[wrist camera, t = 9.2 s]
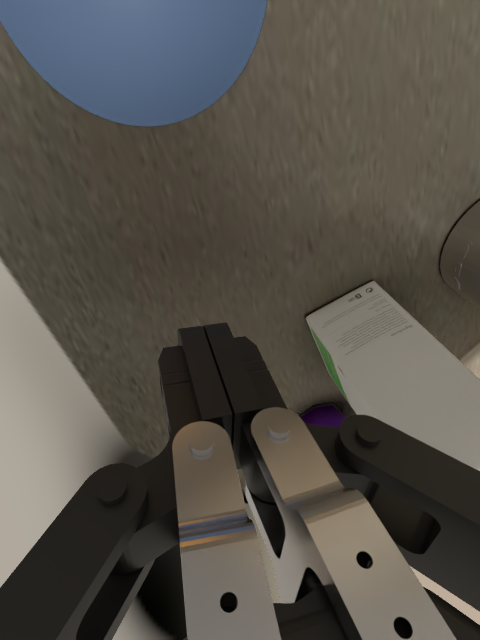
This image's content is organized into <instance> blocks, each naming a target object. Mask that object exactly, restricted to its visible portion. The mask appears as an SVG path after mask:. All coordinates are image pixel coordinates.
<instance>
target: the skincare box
mask: <svg viewBox="0 0 480 640" xmlns="http://www.w3.org/2000/svg"><path fill="white" fill-rule="evenodd" d="M306 321H307V323H308V325H309V328H310V330H311V333H312V335H313V338H314V340H315V342H316V345H317V347H318V349H319V352H320V354H321V356H322V358H323V361H324V363H325V366H326V368H327V371H328V373H329V374H330V376H331V378H332V379H333V381H334V382H335V384H336V385H337V386H338V388H339V389H340V391H341V392H342V394H343V395H344V397H345V398H346V400H347V401H348V403H349V404H350V406H351V407H352V409H353V410H354V411H355V413H356V414H357V415H368V416H371V417H374V418H376V419H378V420H380V421H382V422H384V423H386V424H388V425H390V426H392V427H394V428H396V429H398V430H400V431H402V432H404V433H406V434H408V435H410V436H412V437H414V438H416V439H418V440H420V441H422V442H424V443H426V444H427V445H429V446H431V447H433V448H435V449H437V450H439V451H441V452H443V453H445V454H447V455H449V456H451V457H453V458H455V459H457V460H459V461H461V462H463V463H465V464H467V465H469V466H471V467H473V468H474V469H476V470H478V471H480V379H479V378H478V377H476V376H475V375H474V374H473V373H472V372H471V371H470V370H469V369H468V368H467V367H466V366H465V365H464V364H462V363H461V362H460V361H459V360H458V359H457V358H456V357H455V356H454V355H453V354H452V353H451V352H450V351H448V350H447V349H446V348H445V347H444V346H443V345H442V344H441V343H440V342H439V341H438V340H437V339H436V338H435V337H434V336H432V335H431V334H430V333H429V332H428V331H427V330H426V329H425V328H424V327H423V326H422V325H421V324H420V323H419V322H417V321H416V320H415V319H414V318H413V317H412V316H411V315H410V314H409V313H408V312H407V311H406V310H405V309H404V308H402V307H401V306H400V305H399V304H398V303H397V302H396V301H395V300H394V299H393V298H392V297H391V296H390V295H389V294H388V293H387V292H385V291H384V290H383V289H382V288H381V287H380V286H379V285H378V284H377V283H376V282H375V281H371V282H369V283H367V284H365V285H363V286H362V287H360V288H358V289H356V290H354V291H352V292H350V293H348V294H346V295H345V296H343V297H341V298H339V299H337V300H335V301H334V302H332V303H330V304H328V305H326V306H324V307H323V308H321V309H319V310H317V311H315V312H313V313H312V314H310V315H308V316H307V317H306Z"/></svg>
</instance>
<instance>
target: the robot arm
mask: <svg viewBox="0 0 480 640" xmlns="http://www.w3.org/2000/svg"><path fill="white" fill-rule="evenodd" d="M440 270H441V276H442V278H443V280H444V282H445V283H446V284H447V285H448V286H449V287H451V288H452V289H453V290H455V291H456V292H457V293H459V294H460V295H461V296H462V297H464V298H465V299H466V300H468V301H469V302H470V303H472V304H473V305H474V306H476V307H477V308H478V309H479V310H480V201H479V202H477V203H476V204H475V205H474V206H473V207H472V208H471V209H470V210H468V211H467V212H466V214H465V215H464V216H463V217H462V218H461V219H460V220H459V222H458V223H457V224H456V226H455V227H454V229H453V230H452V232H451V233H450V235H449V237H448V239H447V241H446V243H445V245H444V249H443V252H442V255H441V262H440ZM158 364H159V374H160V384H161V394H162V401H163V407H164V413H165V419H166V424H167V430H168V436H169V441H168V443H167V446H166V447H165V448H164V450H163V451H162V452H161V453H160V454H159V455H158V456H157V457H155V458H154V459H152V460H151V461H149V462H147V463H145V464H143V465H141V466H139V467H138V468H135V467H134V466H131V465H128V464H123V463H120V464H111V465H108V466H105V467H103V468H100V469H99V470H97V471H96V472H94V473H93V474H92V475H91V476H90V477H89V478H88V479H87V480H86V481H85V482H84V484H83V485H82V486H81V487H80V489H79V490H78V491H77V492H76V494H75V495H74V496H73V497H72V499H71V500H70V501H69V502H68V504H67V505H66V506H65V507H64V509H63V510H62V511H61V513H60V514H59V515H58V516H57V517H56V519H55V520H54V521H53V522H52V524H51V525H50V526H49V527H48V529H47V530H46V531H45V533H44V534H43V535H42V536H41V538H40V539H39V540H38V541H37V543H36V544H35V545H34V546H33V548H32V549H31V550H30V551H29V553H28V554H27V555H26V556H25V558H24V559H23V560H22V561H21V563H20V564H19V565H18V567H17V568H16V569H15V570H14V572H13V573H12V574H11V575H10V576H9V578H8V579H7V581H6V582H5V583H4V584H3V585H2V587H1V588H0V640H112V638H113V636H114V635H115V633H116V631H117V629H118V627H119V625H120V623H121V622H122V620H123V618H124V616H125V614H126V612H127V611H128V609H129V607H130V605H131V603H132V602H133V600H134V598H135V596H136V594H137V592H138V590H139V589H140V587H141V585H142V583H143V581H144V579H145V577H146V576H147V574H148V572H149V570H150V568H151V566H152V564H153V562H154V560H155V558H157V557H158V556H160V555H161V554H163V553H164V552H165V551H167V550H169V549H170V548H172V547H173V546H175V545H176V544H178V543H179V542H180V551H181V562H182V575H183V588H184V600H185V612H186V625H187V637H186V638H185V639H184V640H480V625H479V624H477V623H476V622H474V621H473V620H471V619H470V618H469V617H467V616H466V615H464V614H463V613H462V612H460V611H459V610H457V609H456V608H455V607H453V606H452V605H450V604H449V603H448V602H446V601H445V600H443V599H442V598H440V597H439V596H438V595H436V594H435V593H433V592H432V591H430V590H428V589H426V588H425V587H423V586H422V585H421V583H420V582H419V580H418V579H417V577H416V576H415V574H414V572H413V571H412V569H411V568H410V566H411V567H413V568H414V569H416V570H417V571H419V572H420V573H422V574H423V575H425V576H426V577H428V578H430V579H431V580H433V581H434V582H436V583H437V584H439V585H440V586H442V587H443V588H445V589H446V590H448V591H449V592H451V593H452V594H454V595H455V596H457V597H458V598H460V599H462V600H463V601H465V602H466V603H468V604H469V605H471V606H472V607H474V608H475V609H477V610H478V611H480V471H478V470H476V469H474V468H473V467H471V466H469V465H467V464H465V463H463V462H461V461H459V460H457V459H455V458H453V457H451V456H449V455H447V454H445V453H443V452H441V451H439V450H437V449H435V448H433V447H431V446H429V445H427V444H426V443H424V442H422V441H420V440H418V439H416V438H414V437H412V436H410V435H408V434H406V433H404V432H402V431H400V430H398V429H396V428H394V427H392V426H390V425H388V424H386V423H384V422H382V421H380V420H378V419H376V418H374V417H371V416H368V415H353V416H350V417H347V418H346V419H345V420H344V421H343V422H342V423H341V425H340V427H330V426H319V425H312V424H309V423H306V422H303V420H302V419H301V418H300V417H299V416H298V415H297V414H295V413H294V412H292V411H290V410H288V409H287V407H286V405H285V403H284V401H283V399H282V397H281V395H280V393H279V391H278V389H277V387H276V385H275V383H274V381H273V379H272V377H271V375H270V372H269V370H267V366H266V364H265V362H264V360H263V359H262V356H261V354H260V352H259V350H258V348H257V346H256V345H255V344H254V343H253V342H251V341H250V340H249V339H248V338H247V337H245V336H244V337H237V338H233V335H232V333H231V331H230V328H229V326H228V324H227V323H219V324H211V325H204V326H203V327H202V326H197V327H189V328H182V329H178V346H174V347H167V348H163V350H162V353H161V355H160V358H159V360H158ZM240 468H242V470H243V474H244V477H245V480H246V482H245V494H246V498H247V500H248V503H249V505H250V507H251V510H252V513H253V515H254V518H255V520H256V523H257V525H258V528H259V530H260V533H261V535H262V538H263V541H264V543H265V546H266V548H267V550H268V553H269V555H270V558H271V561H272V564H273V567H274V571H275V579H276V584H277V589H278V592H279V596H280V599H281V602H282V603H273V602H272V597H271V593H270V589H269V584H268V580H267V576H266V571H265V567H264V563H263V559H262V554H261V550H260V546H259V541H258V537H257V533H256V530H255V526H254V524H253V522H252V520H250V519H249V518H248V516H247V512H246V508H245V503H244V499H243V494H242V490H241V485H240V481H239V476H238V472H237V469H240ZM409 565H410V566H409Z"/></svg>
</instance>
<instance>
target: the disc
mask: <svg viewBox="0 0 480 640" xmlns="http://www.w3.org/2000/svg"><path fill="white" fill-rule="evenodd" d="M266 4H267V0H0V21H1V23H2V25H3V26H4V28H5V30H6V31H7V33H8V35H9V36H10V38H11V40H12V41H13V43H14V44H15V45H16V47H17V48H18V49H19V51H20V52H21V53H22V55H23V56H24V57H25V59H26V60H27V61H28V63H29V64H30V65H31V66H32V67H33V68H34V69H35V70H36V71H37V72H38V74H39V75H40V76H41V77H42V78H43V79H44V80H45V81H47V82H48V83H49V84H50V85H51V86H52V87H53V88H54V89H55V90H57V91H58V92H59V93H60V94H62V95H63V96H65V97H66V98H67V99H69V100H70V101H72V102H73V103H74V104H76V105H78V106H80V107H81V108H83V109H85V110H87V111H89V112H90V113H92V114H95V115H97V116H100V117H102V118H105V119H107V120H111V121H114V122H118V123H122V124H127V125H134V126H160V125H167V124H172V123H175V122H179V121H182V120H185V119H187V118H190V117H192V116H194V115H196V114H198V113H200V112H201V111H203V110H205V109H206V108H208V107H209V106H211V105H212V104H213V103H214V102H216V101H217V100H218V99H219V98H220V97H221V96H222V95H224V93H225V92H226V91H227V90H228V89H229V88H230V87H231V86H232V84H233V83H234V82H235V81H236V79H237V78H238V76H239V75H240V73H241V72H242V70H243V69H244V67H245V65H246V64H247V62H248V60H249V58H250V56H251V54H252V52H253V49H254V47H255V44H256V42H257V39H258V37H259V34H260V30H261V27H262V23H263V19H264V15H265V10H266Z"/></svg>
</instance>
